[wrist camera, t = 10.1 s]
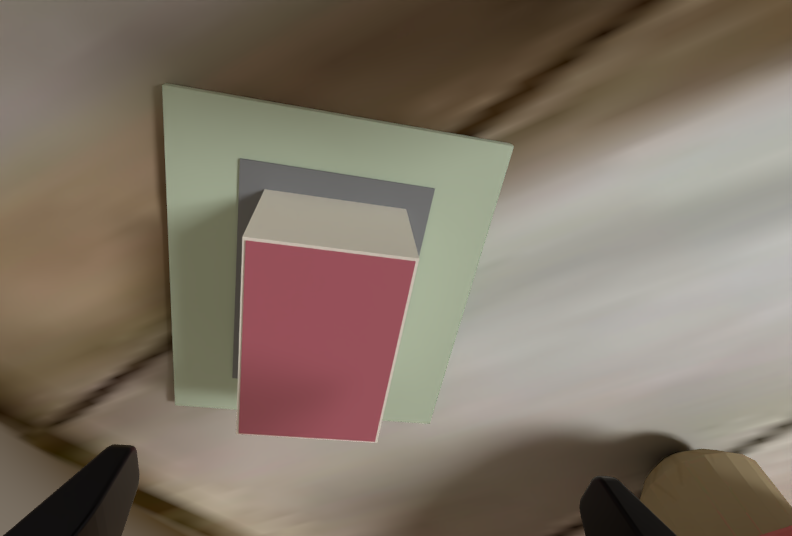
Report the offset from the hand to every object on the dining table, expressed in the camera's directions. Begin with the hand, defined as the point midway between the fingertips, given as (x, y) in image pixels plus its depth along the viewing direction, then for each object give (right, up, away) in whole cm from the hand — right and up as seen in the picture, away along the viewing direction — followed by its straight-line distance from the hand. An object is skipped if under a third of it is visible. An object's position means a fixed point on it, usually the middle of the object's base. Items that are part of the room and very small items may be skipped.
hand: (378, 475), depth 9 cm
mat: (-3, +3, +11) cm, 11 cm away
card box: (-3, +3, +10) cm, 11 cm away
